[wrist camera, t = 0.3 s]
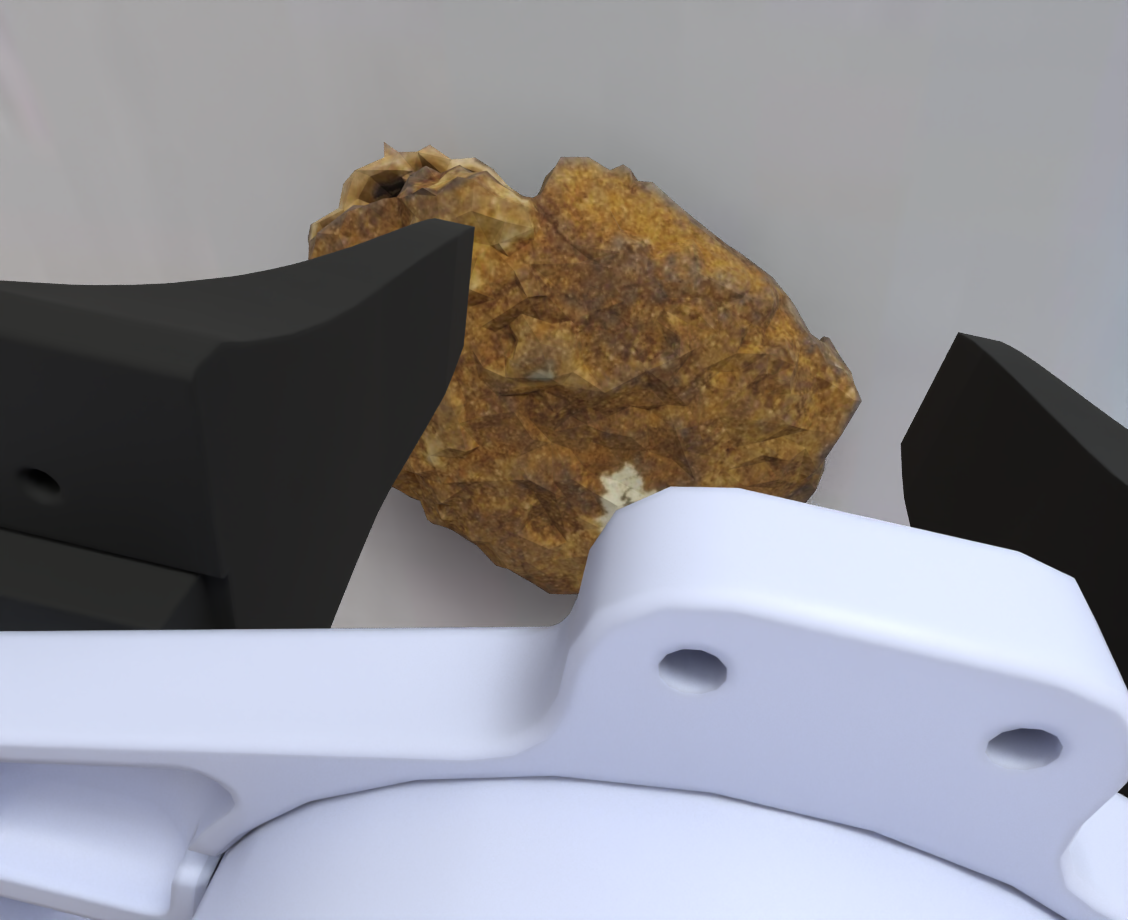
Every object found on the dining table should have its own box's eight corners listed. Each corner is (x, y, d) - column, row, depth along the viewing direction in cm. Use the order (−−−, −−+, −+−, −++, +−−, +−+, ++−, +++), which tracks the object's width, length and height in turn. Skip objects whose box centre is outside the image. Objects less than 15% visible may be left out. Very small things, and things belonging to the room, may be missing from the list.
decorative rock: (268, 374, 26) (671, 589, 29) (204, 440, 23) (668, 679, 25) (413, 17, 20) (903, 328, 23) (355, 33, 17) (941, 398, 19)
